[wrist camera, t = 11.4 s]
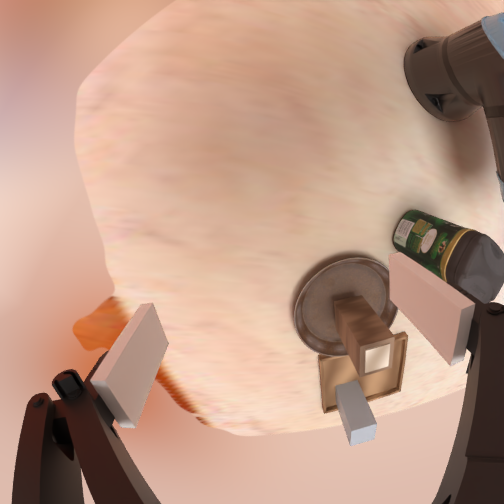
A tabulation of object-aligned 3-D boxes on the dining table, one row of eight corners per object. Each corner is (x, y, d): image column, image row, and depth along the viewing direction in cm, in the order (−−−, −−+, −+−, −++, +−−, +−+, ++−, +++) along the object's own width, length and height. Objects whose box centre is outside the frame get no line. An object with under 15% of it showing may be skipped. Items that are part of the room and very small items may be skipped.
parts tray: (404, 331, 47) (408, 335, 45) (397, 387, 51) (400, 391, 50) (318, 355, 48) (320, 360, 46) (322, 408, 52) (324, 413, 50)
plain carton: (357, 379, 49) (377, 423, 38) (356, 396, 51) (374, 439, 39) (335, 385, 50) (351, 431, 38) (335, 401, 51) (350, 446, 39)
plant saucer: (345, 361, 49) (350, 371, 46) (269, 317, 46) (270, 327, 43) (409, 288, 45) (418, 295, 42) (339, 229, 42) (345, 233, 39)
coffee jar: (444, 229, 41) (519, 263, 24) (422, 269, 43) (490, 318, 26) (407, 200, 40) (487, 225, 22) (384, 244, 42) (454, 291, 24)
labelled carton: (361, 295, 41) (395, 337, 30) (362, 322, 43) (392, 368, 31) (333, 301, 42) (360, 347, 30) (335, 329, 43) (359, 378, 31)
